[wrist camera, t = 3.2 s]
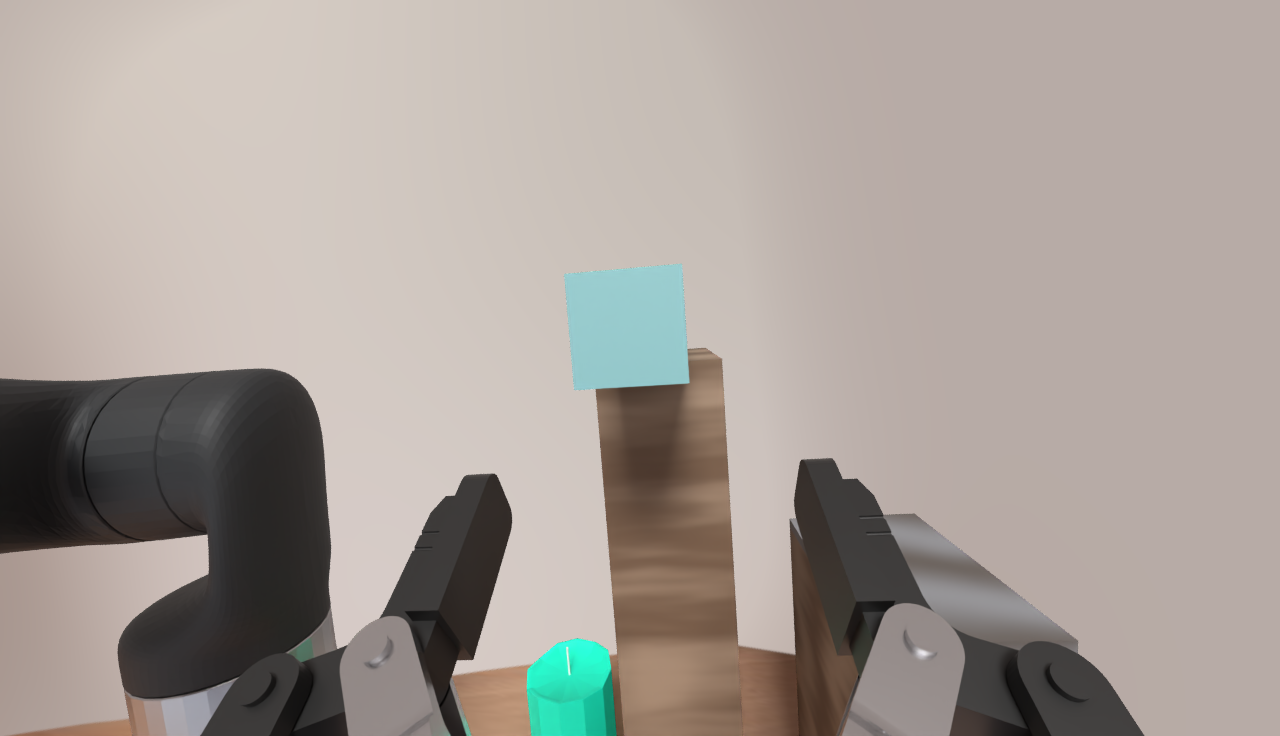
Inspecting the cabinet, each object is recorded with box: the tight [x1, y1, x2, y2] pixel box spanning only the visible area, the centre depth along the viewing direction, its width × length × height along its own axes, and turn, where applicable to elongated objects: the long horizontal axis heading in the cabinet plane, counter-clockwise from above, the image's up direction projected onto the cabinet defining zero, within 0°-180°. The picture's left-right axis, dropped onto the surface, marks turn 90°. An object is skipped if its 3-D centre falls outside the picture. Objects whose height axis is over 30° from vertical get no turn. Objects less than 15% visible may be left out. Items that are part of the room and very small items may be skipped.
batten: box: [564, 264, 689, 390], centre depth 26 cm, size 22×4×4 cm, turn 174°
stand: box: [596, 348, 743, 736], centre depth 32 cm, size 12×7×32 cm, turn 176°
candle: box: [527, 638, 617, 736], centre depth 32 cm, size 6×6×12 cm
